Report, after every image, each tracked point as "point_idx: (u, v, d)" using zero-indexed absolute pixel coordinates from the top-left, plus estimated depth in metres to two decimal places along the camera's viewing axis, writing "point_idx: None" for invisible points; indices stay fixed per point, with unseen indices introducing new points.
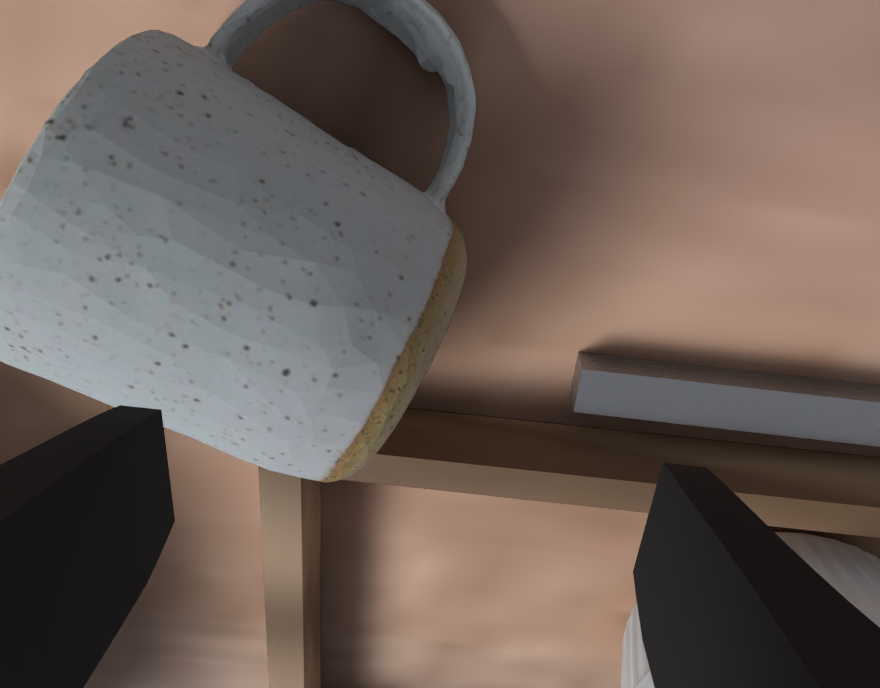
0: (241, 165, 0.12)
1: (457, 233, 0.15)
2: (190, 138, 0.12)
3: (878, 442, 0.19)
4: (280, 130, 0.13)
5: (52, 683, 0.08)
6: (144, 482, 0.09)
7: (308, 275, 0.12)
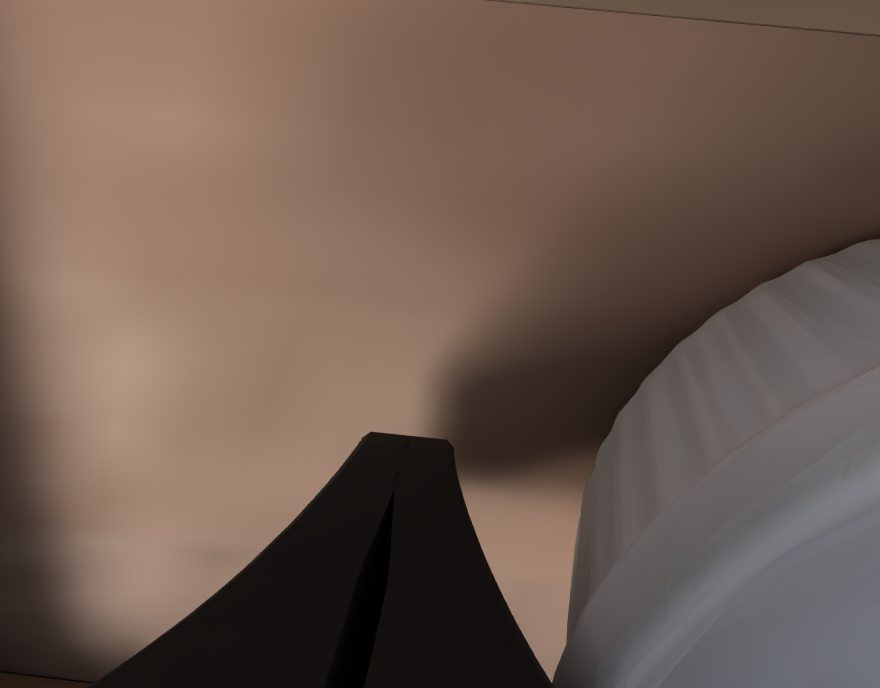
0: None
1: None
2: None
3: None
4: None
5: None
6: None
7: None
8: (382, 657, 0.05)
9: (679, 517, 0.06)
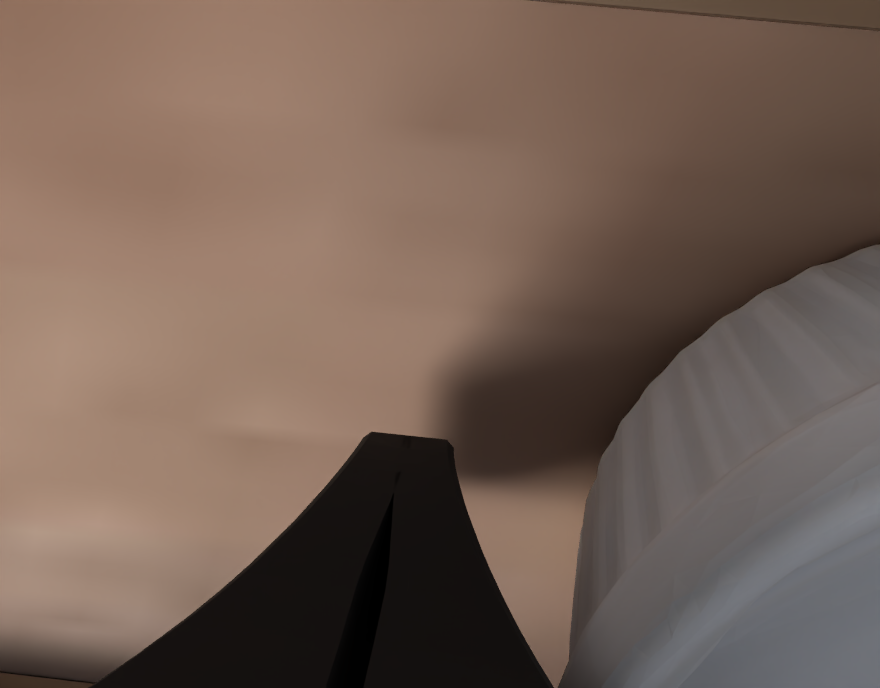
0: None
1: None
2: None
3: None
4: None
5: None
6: None
7: None
8: (382, 657, 0.05)
9: (683, 533, 0.06)
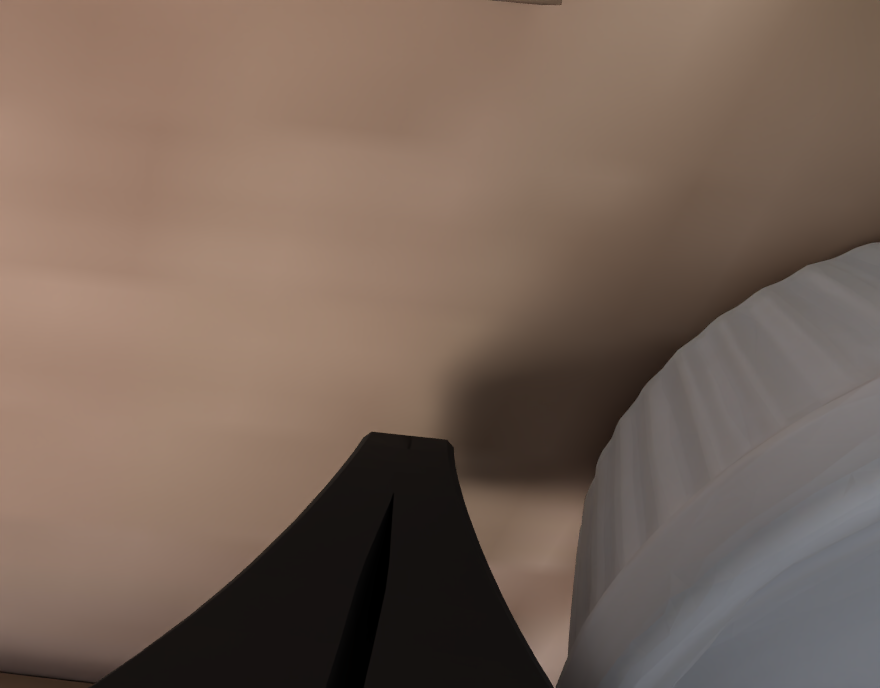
0: None
1: None
2: None
3: None
4: None
5: None
6: None
7: None
8: (382, 657, 0.05)
9: (680, 531, 0.06)
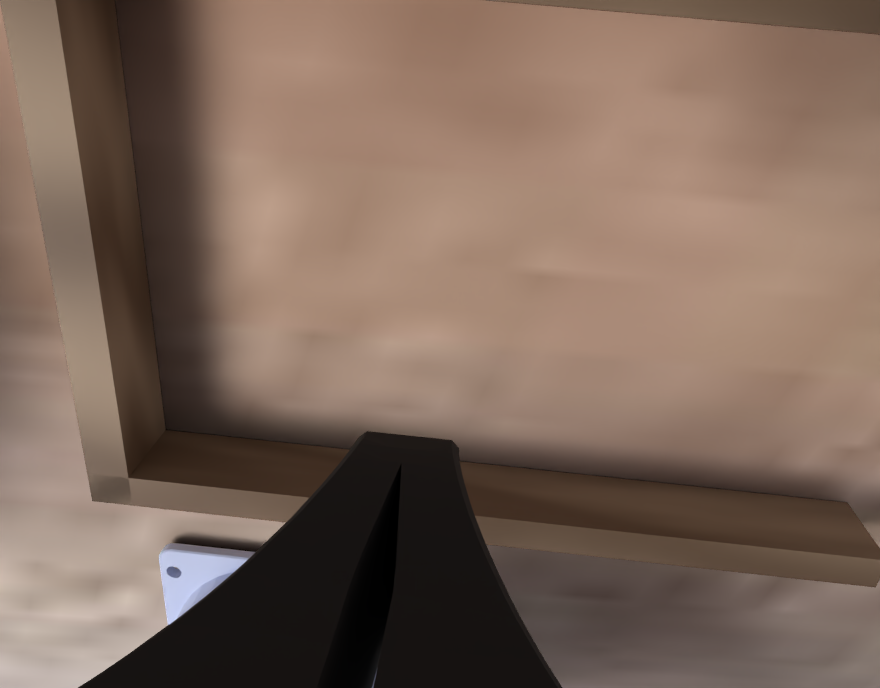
0: None
1: None
2: None
3: None
4: None
5: None
6: None
7: None
8: (391, 658, 0.05)
9: None
